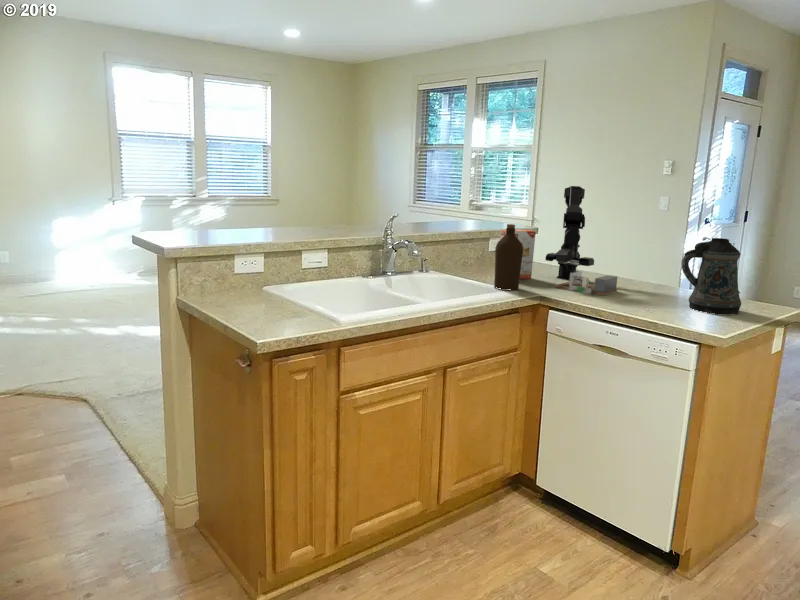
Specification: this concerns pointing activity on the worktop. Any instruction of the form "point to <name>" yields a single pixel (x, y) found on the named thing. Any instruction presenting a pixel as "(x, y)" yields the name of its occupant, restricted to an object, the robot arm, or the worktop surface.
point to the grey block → (576, 277)
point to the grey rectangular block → (605, 283)
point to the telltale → (585, 282)
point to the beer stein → (714, 277)
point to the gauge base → (581, 288)
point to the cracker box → (525, 250)
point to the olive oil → (508, 260)
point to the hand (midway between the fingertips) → (567, 280)
